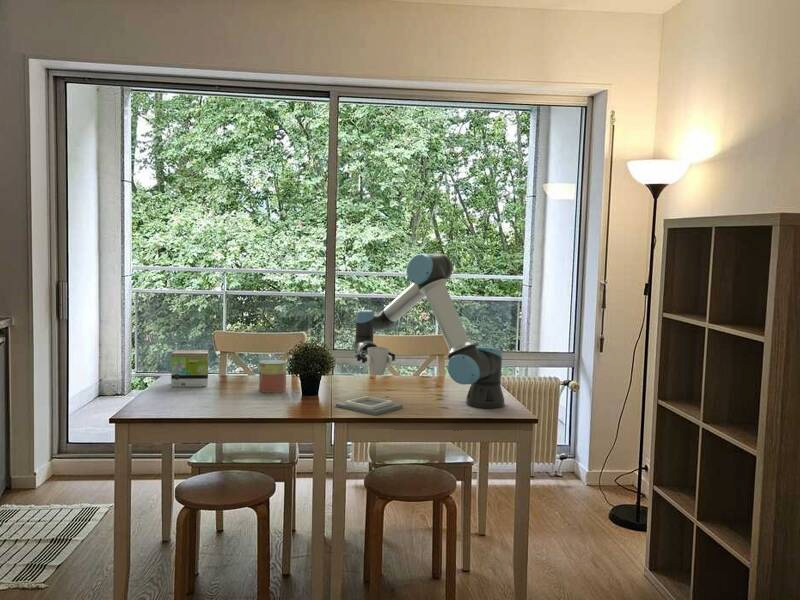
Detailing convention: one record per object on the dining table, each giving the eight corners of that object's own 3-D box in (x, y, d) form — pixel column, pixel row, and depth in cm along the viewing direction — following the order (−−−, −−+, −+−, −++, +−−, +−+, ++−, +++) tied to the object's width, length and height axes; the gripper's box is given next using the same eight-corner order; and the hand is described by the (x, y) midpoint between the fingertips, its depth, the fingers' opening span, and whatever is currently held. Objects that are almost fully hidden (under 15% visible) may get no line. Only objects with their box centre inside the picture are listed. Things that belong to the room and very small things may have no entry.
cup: (389, 372, 290) (389, 347, 289) (386, 376, 282) (387, 350, 281) (368, 371, 291) (369, 346, 290) (365, 375, 283) (365, 349, 282)
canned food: (258, 387, 317) (258, 359, 316) (285, 386, 320) (285, 359, 319) (259, 392, 306) (259, 364, 305) (286, 392, 309) (287, 363, 308)
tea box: (171, 387, 312) (170, 353, 310) (172, 383, 322) (172, 349, 320) (207, 387, 315) (208, 352, 314) (208, 382, 325) (208, 348, 324)
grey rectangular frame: (402, 407, 286) (402, 401, 286) (375, 415, 273) (375, 408, 273) (363, 399, 298) (363, 393, 298) (335, 406, 285) (335, 400, 285)
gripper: (392, 359, 306) (406, 370, 284) (343, 360, 301) (353, 371, 279) (393, 341, 306) (406, 351, 284) (344, 342, 301) (354, 351, 279)
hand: (380, 361), depth 281 cm, fingers closed on cup, 8 cm apart
